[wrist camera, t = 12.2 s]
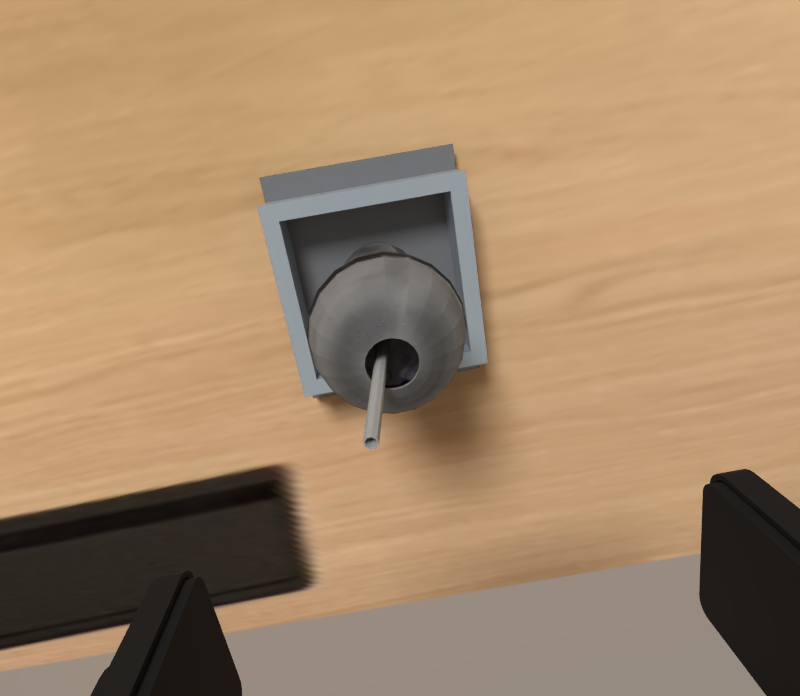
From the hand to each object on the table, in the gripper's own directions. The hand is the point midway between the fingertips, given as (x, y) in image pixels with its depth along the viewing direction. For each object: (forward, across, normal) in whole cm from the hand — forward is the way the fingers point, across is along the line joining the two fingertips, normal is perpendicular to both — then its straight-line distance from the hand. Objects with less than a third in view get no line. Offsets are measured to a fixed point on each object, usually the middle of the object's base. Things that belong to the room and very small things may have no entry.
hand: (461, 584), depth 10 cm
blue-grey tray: (+28, +1, 0) cm, 28 cm away
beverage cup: (+27, +1, 0) cm, 27 cm away
